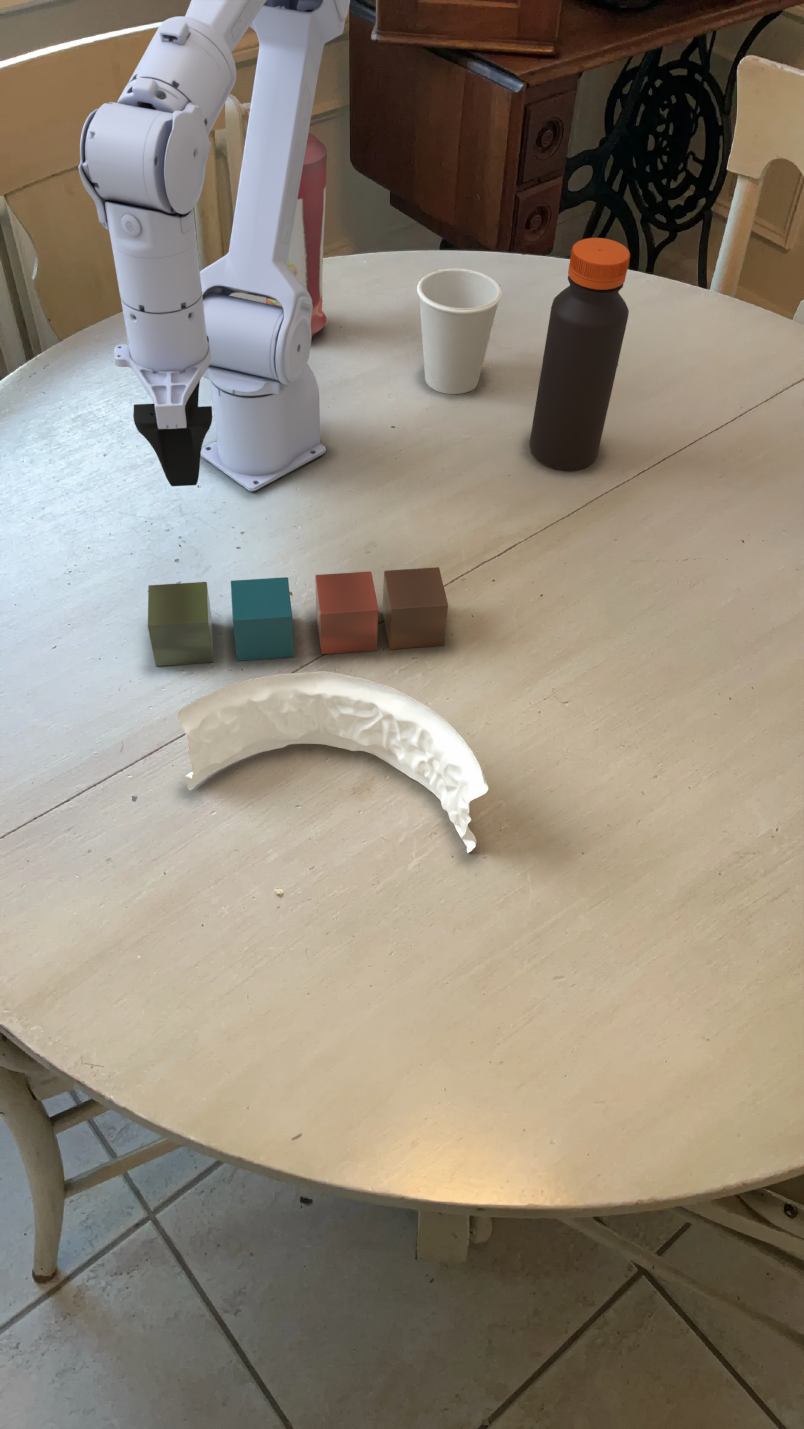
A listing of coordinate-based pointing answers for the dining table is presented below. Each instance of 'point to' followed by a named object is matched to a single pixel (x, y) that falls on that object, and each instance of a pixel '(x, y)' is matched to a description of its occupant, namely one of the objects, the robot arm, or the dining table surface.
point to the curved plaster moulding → (335, 732)
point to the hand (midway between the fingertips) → (183, 453)
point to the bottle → (581, 356)
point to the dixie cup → (456, 326)
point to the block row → (340, 612)
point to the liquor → (310, 229)
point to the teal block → (262, 618)
